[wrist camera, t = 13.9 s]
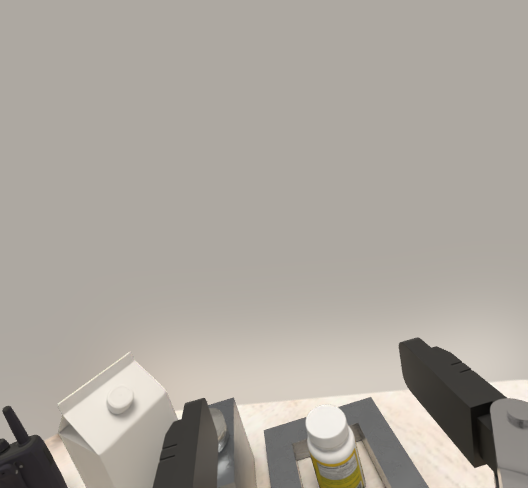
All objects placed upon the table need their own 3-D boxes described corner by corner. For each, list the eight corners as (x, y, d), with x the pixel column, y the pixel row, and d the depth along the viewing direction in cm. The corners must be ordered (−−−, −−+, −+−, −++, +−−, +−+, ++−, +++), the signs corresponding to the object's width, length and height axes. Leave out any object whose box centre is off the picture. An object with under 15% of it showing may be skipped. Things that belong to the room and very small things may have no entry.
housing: (205, 624, 24) (158, 523, 21) (214, 463, 38) (187, 390, 35) (452, 540, 25) (435, 434, 22) (374, 413, 39) (358, 338, 36)
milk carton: (117, 549, 31) (38, 396, 27) (169, 482, 37) (111, 348, 32) (162, 585, 27) (78, 414, 23) (212, 504, 33) (153, 355, 29)
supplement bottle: (324, 459, 34) (308, 398, 32) (367, 467, 32) (353, 402, 30) (315, 504, 30) (295, 437, 28) (363, 516, 28) (346, 445, 26)
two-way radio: (77, 488, 39) (27, 393, 36) (65, 523, 35) (7, 419, 32) (30, 509, 38) (-26, 413, 35) (12, 548, 34) (-54, 443, 31)
